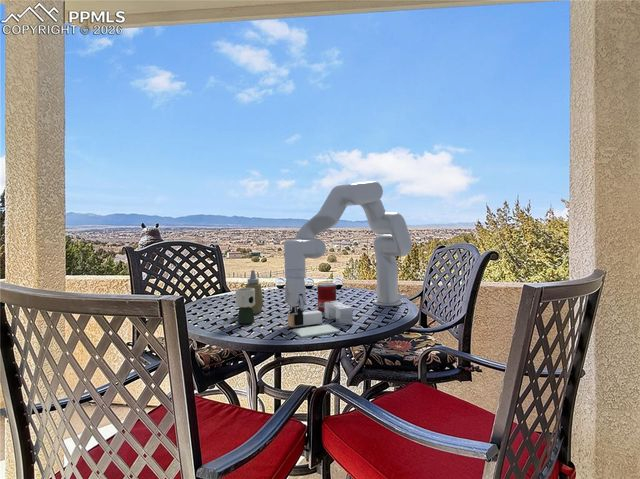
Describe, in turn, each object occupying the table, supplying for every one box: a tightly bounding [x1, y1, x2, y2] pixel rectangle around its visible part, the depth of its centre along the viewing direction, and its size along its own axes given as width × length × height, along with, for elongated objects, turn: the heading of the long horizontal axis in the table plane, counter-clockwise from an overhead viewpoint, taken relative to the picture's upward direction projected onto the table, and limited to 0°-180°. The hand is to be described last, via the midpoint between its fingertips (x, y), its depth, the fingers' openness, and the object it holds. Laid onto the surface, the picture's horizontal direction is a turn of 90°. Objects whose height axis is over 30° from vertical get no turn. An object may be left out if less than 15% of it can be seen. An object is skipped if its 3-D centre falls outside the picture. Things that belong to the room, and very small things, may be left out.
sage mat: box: [291, 324, 341, 339], centre depth 133 cm, size 14×9×1 cm, turn 114°
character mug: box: [235, 287, 255, 325], centre depth 146 cm, size 11×7×13 cm, turn 171°
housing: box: [324, 300, 354, 326], centre depth 147 cm, size 5×14×6 cm, turn 24°
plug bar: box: [287, 309, 323, 328], centre depth 142 cm, size 12×4×4 cm, turn 114°
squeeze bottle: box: [244, 269, 264, 315], centre depth 164 cm, size 8×8×18 cm
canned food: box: [317, 282, 337, 312], centre depth 167 cm, size 8×8×11 cm
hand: (296, 323), depth 141 cm, fingers closed on plug bar, 4 cm apart
